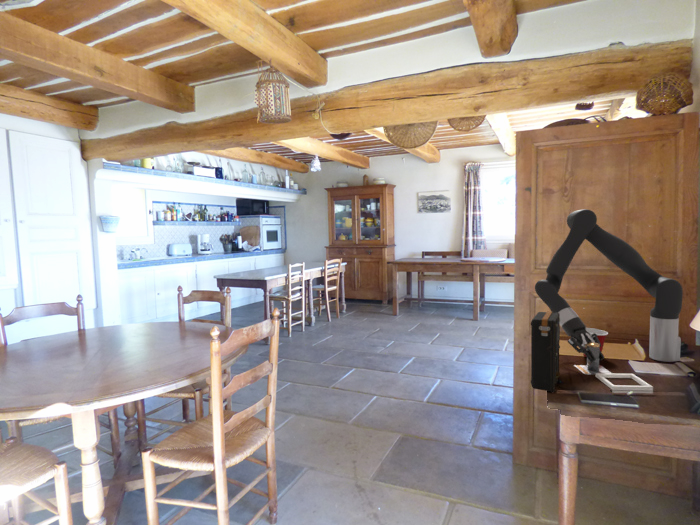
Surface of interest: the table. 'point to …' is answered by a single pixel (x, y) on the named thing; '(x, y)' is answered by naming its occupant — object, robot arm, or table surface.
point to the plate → (584, 370)
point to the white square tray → (624, 387)
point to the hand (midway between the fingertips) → (598, 359)
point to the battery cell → (595, 351)
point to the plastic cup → (600, 335)
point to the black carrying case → (545, 350)
